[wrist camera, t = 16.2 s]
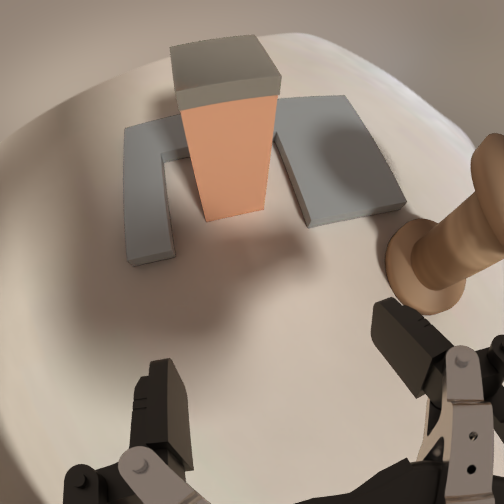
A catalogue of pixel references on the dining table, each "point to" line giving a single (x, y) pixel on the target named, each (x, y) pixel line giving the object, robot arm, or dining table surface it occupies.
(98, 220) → the dining table surface
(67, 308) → the dining table surface
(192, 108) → the orange tall block
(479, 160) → the bobbin
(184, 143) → the notched board
